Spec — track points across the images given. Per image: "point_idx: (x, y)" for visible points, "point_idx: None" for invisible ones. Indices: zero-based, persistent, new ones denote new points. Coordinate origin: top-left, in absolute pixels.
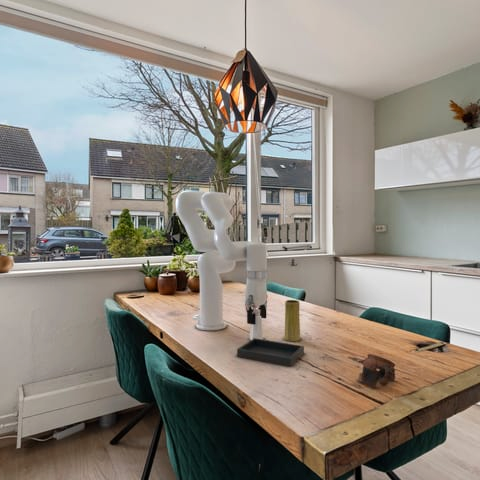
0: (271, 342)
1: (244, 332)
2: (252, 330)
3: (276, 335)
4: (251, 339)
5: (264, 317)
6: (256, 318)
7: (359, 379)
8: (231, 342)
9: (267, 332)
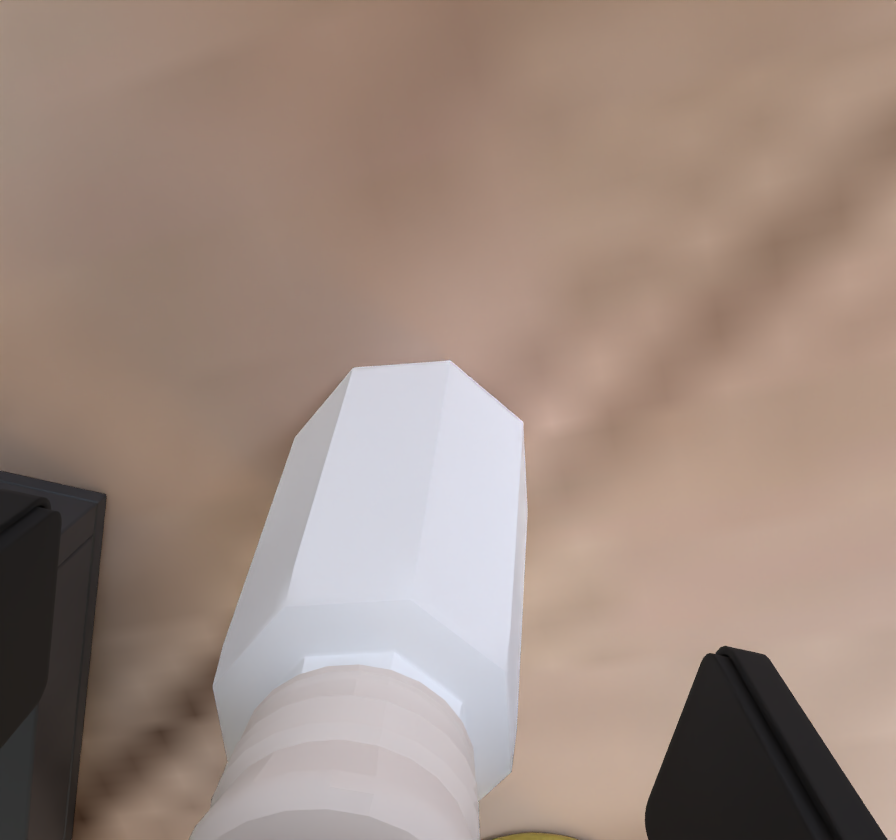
0: (1, 803)
1: (751, 166)
2: (291, 483)
3: (657, 718)
4: (319, 409)
5: (658, 812)
6: (228, 738)
7: None
8: (92, 83)
9: (801, 572)
